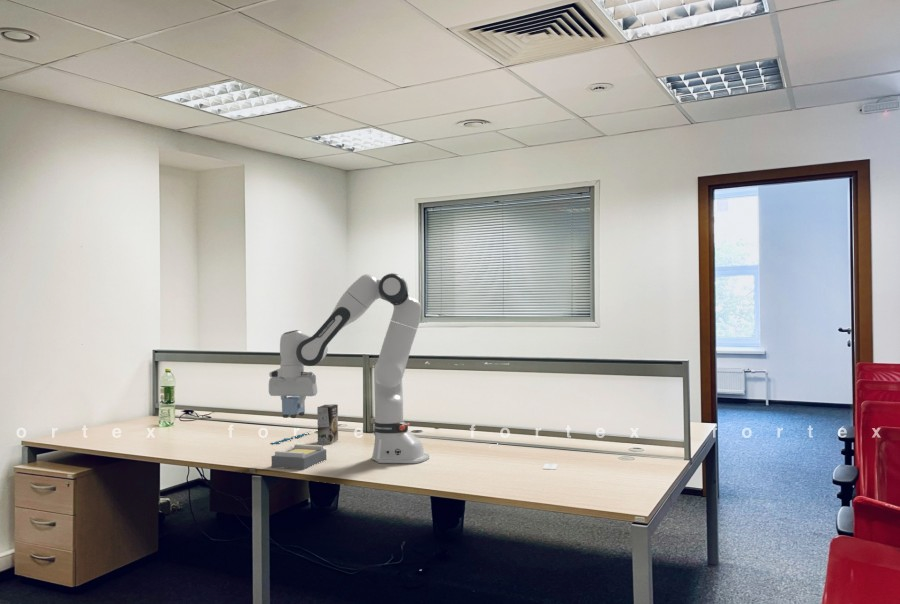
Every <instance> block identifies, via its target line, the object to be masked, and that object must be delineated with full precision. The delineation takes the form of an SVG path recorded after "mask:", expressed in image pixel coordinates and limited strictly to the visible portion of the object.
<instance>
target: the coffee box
mask: <svg viewBox="0 0 900 604" xmlns="http://www.w3.org/2000/svg"><path fill="white" fill-rule="evenodd" d="M338 406H339V405H338V404H324V405H321V406H317V409H316V411H317V430H318V432H317V445H331V444H332V445H333V442H334V443H336V442H337V440H338V441H339V421H338V420H339V417H338V416H339V415H338V414H339V413H338V412H339V411H338V410H339V409H338ZM335 441H336V442H335Z"/></svg>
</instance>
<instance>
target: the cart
mask: <svg viewBox="0 0 900 604" xmlns="http://www.w3.org/2000/svg"><path fill="white" fill-rule="evenodd" d="M300 401H301V399H300V396H287V398H283V399H282V400H281V412H282V413H281V414H282V418H283V419H284V418H285V419H288V418H289V415H290V418H291V419H296V418H297V417H298V416H297V414H298V415H299V417H300V416H301V417H302V416H305V413H306V412H305V411H306V408H305V407H306V405H305V401H304V403H303V408H298V403H300Z"/></svg>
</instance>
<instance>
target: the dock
mask: <svg viewBox="0 0 900 604" xmlns="http://www.w3.org/2000/svg"><path fill="white" fill-rule="evenodd" d="M293 446H294V448H290V449H288V450H285V451H280V450H279V451H278V450H277V451H274V455H271V468H277V467H284V468H283V469H291V468H294V469H295V470H306V469H308V467H309V468H311V467H313V466H315V465H314V464H316V465H318V464H320V463H322V462H324V460H325V461H327V449H324V445H321V444H317V445H316V444H298V443H296V444H294V445H293ZM321 461H322V462H321ZM319 462H320V463H319ZM317 463H318V464H317ZM312 465H313V466H312ZM310 466H311V467H310Z"/></svg>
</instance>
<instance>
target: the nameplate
mask: <svg viewBox="0 0 900 604" xmlns="http://www.w3.org/2000/svg"><path fill="white" fill-rule="evenodd" d="M308 432H309V431H307V432H306V433H308ZM304 435H305V436H308V435H310V434H309V433H308V435H307V434H305V433H301V434H297V435H295V436H291V437H289V438H288V437H287V438H283V439H281V440H278V441H274V442H270V443H269V444H270V445H281V443H279V442H282V443H284V442H288V441H287V440H290V439H292V440H294V439H296V438H297V439H301V438H303V437H305V436H304ZM296 436H297V437H296ZM302 436H303V437H302ZM293 437H295V438H293ZM292 440H290V441H289V442H291V441H292Z"/></svg>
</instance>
